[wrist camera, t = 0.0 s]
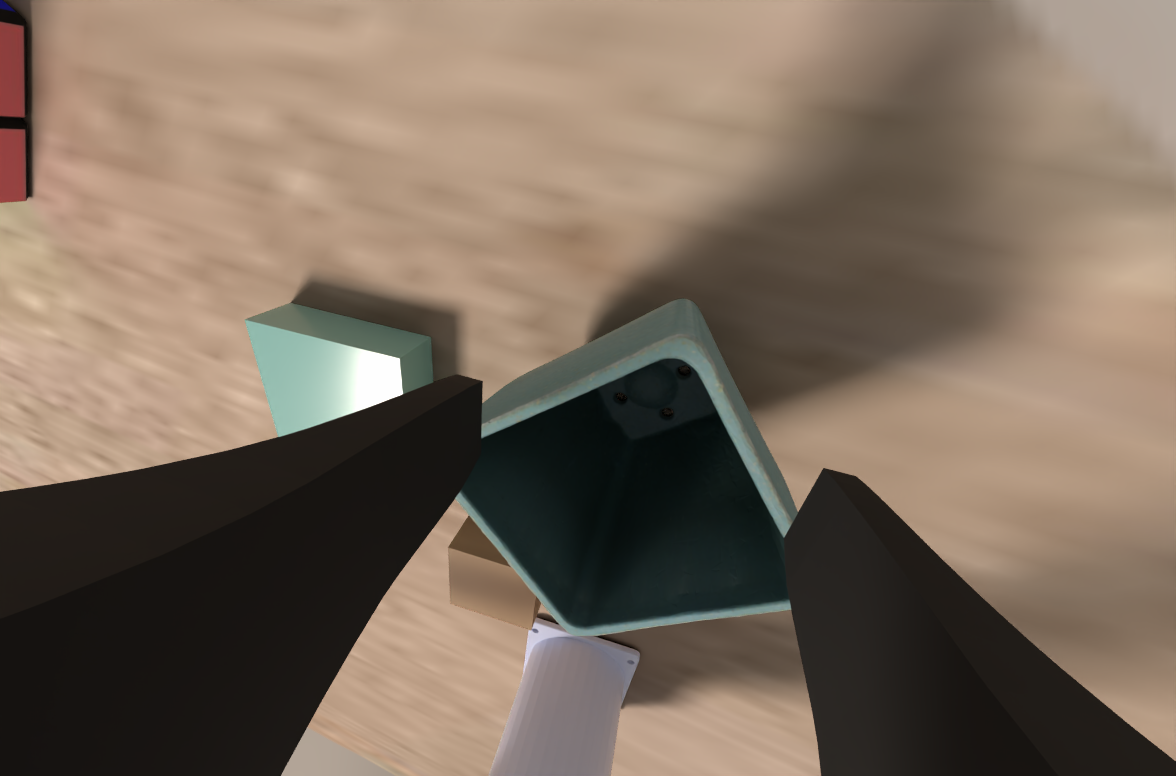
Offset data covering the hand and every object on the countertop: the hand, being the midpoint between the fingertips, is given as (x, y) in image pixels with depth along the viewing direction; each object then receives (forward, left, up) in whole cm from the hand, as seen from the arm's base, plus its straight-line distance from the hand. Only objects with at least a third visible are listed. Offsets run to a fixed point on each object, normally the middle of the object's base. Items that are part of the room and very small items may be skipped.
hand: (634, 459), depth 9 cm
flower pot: (-3, 0, -10) cm, 11 cm away
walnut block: (-14, +5, -10) cm, 18 cm away
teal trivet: (-8, +15, -10) cm, 20 cm away
